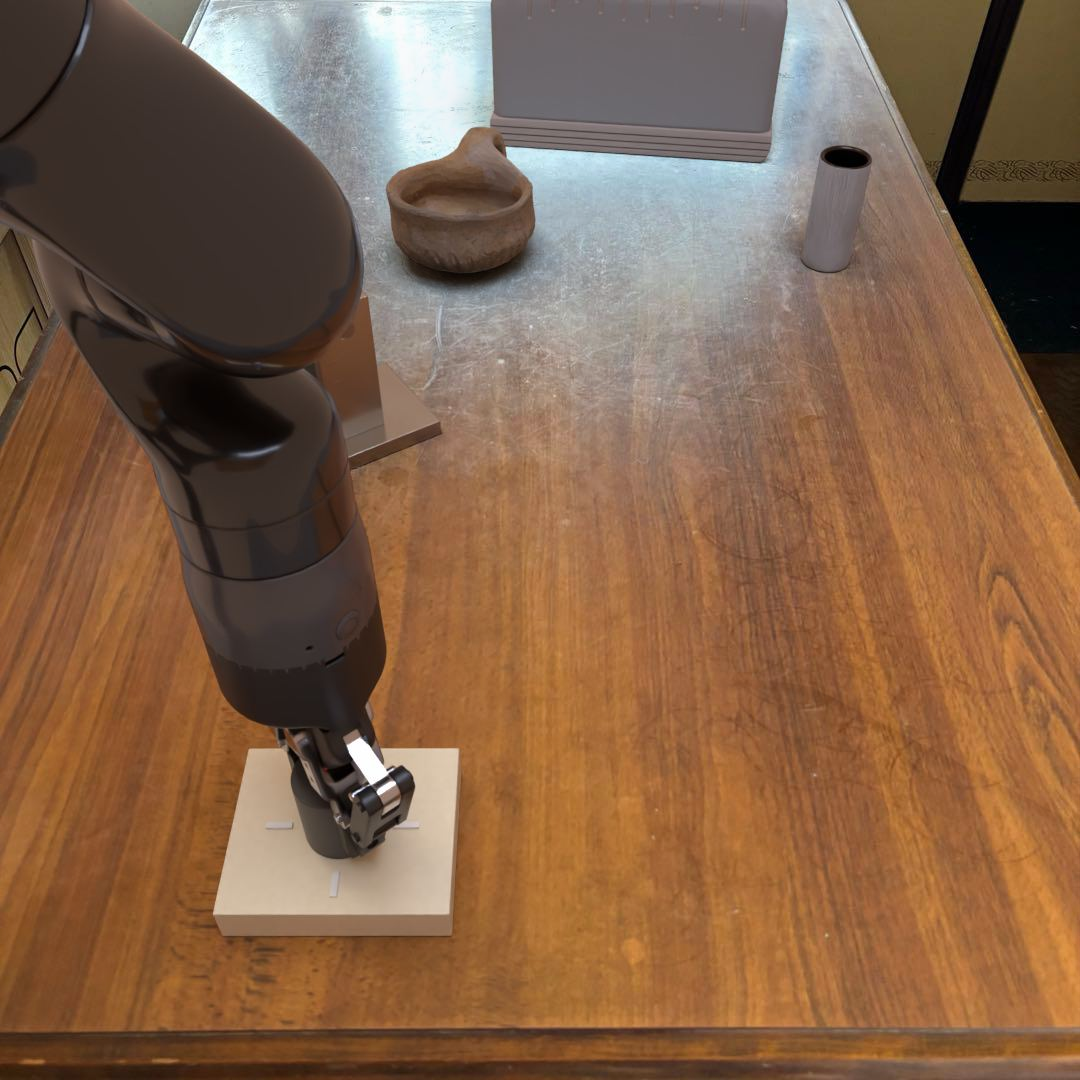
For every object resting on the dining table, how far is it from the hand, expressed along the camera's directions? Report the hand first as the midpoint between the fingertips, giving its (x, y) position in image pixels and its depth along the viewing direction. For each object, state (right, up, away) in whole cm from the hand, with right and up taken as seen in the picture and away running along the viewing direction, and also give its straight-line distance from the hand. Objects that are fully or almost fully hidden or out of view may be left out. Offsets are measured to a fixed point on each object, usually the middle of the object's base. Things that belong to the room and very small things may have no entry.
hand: (341, 812), depth 58 cm
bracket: (-5, +23, +28) cm, 37 cm away
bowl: (+3, +43, +48) cm, 65 cm away
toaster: (+23, +69, +74) cm, 103 cm away
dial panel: (0, -3, +3) cm, 4 cm away
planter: (+37, +41, +46) cm, 72 cm away
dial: (0, -1, +1) cm, 1 cm away
